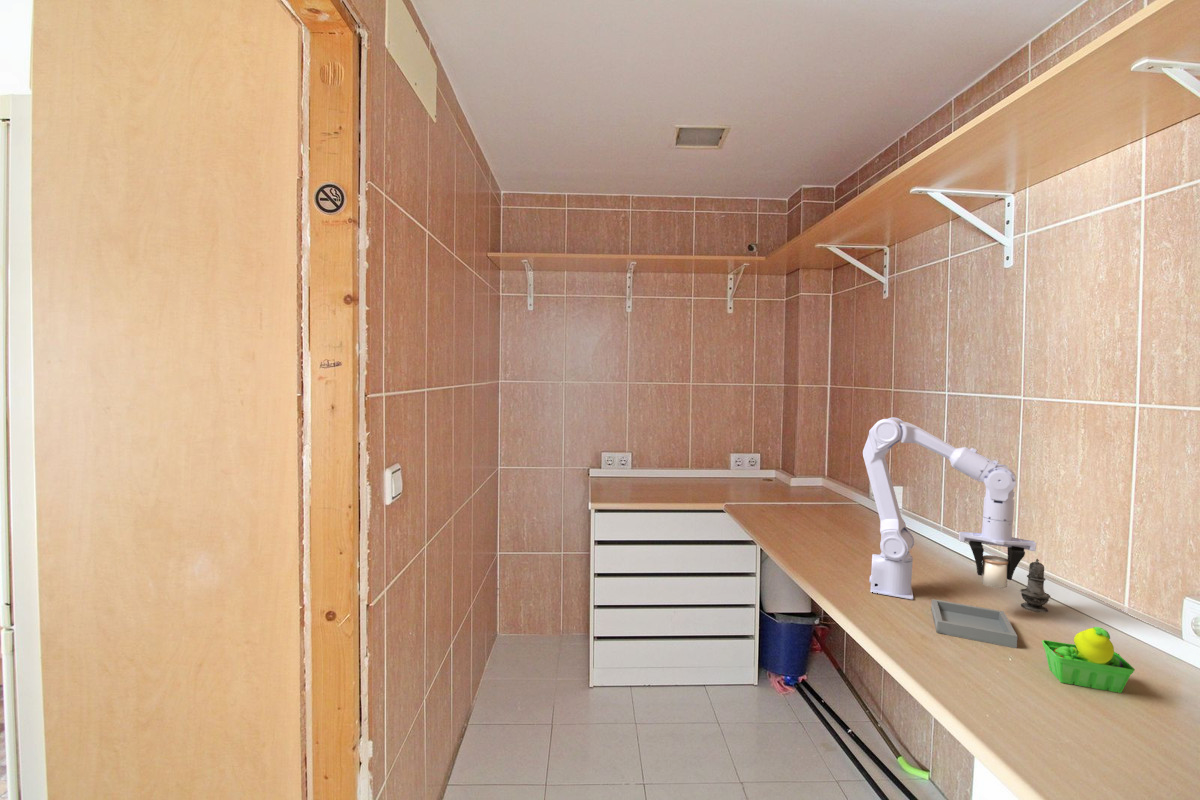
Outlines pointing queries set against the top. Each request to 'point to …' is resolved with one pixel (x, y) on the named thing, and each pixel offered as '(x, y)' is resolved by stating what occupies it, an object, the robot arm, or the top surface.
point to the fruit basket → (1088, 661)
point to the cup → (994, 571)
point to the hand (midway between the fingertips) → (993, 576)
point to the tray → (973, 623)
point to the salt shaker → (1035, 589)
